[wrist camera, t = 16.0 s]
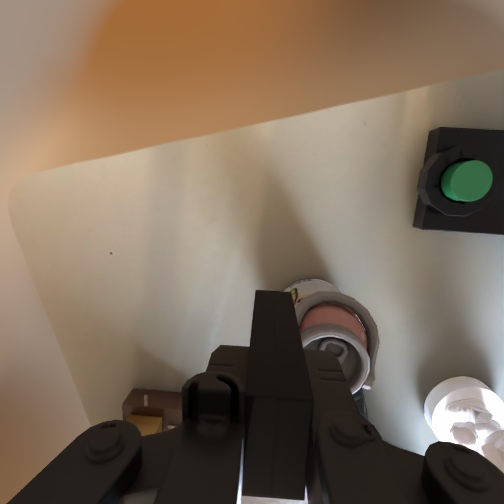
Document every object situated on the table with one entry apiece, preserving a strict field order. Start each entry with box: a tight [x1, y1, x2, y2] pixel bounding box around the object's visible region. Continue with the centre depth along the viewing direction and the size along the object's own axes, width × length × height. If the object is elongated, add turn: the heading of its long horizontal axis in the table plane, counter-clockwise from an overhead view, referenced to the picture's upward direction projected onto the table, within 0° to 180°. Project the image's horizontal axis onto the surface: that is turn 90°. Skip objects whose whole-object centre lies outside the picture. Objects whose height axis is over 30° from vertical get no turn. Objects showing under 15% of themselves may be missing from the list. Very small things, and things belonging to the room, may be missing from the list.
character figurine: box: [424, 376, 504, 473], centre depth 33 cm, size 9×10×12 cm
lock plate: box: [122, 389, 182, 432], centre depth 40 cm, size 16×11×3 cm
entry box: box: [413, 127, 504, 235], centre depth 31 cm, size 10×11×4 cm
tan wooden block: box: [127, 414, 162, 436], centre depth 35 cm, size 4×2×7 cm, turn 86°
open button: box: [441, 160, 493, 201], centre depth 29 cm, size 4×4×2 cm
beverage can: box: [284, 279, 379, 394], centre depth 31 cm, size 9×8×12 cm
